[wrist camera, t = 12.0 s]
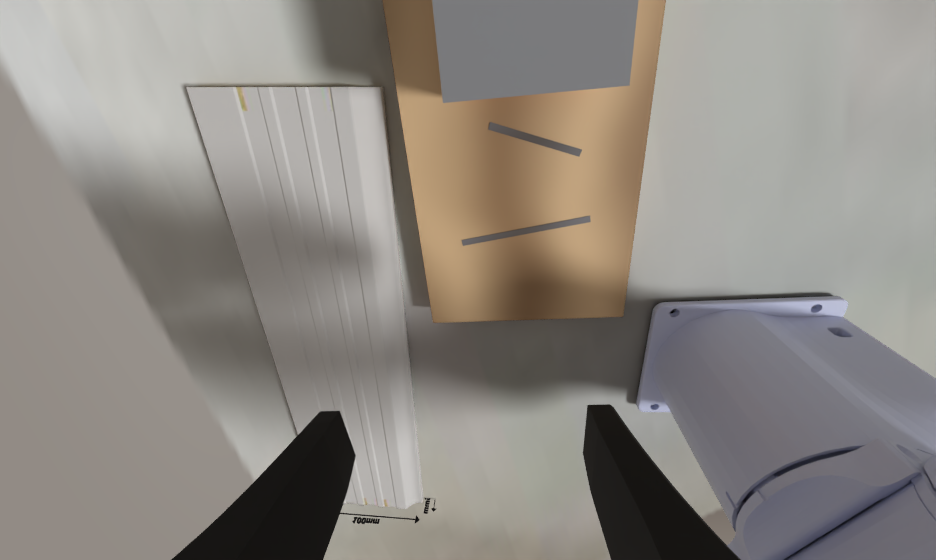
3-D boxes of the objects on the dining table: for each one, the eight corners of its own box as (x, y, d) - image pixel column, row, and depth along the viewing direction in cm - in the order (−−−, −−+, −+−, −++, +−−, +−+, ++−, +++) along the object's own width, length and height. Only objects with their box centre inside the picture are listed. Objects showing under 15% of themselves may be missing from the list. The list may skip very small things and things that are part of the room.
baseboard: (418, 86, 16) (208, 87, 17) (403, 86, 14) (158, 87, 15) (441, 493, 30) (326, 485, 31) (436, 530, 28) (311, 519, 29)
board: (697, -387, 10) (728, -461, 9) (614, 301, 20) (623, 317, 19) (345, -310, 11) (324, -366, 10) (437, 308, 21) (433, 323, 20)
